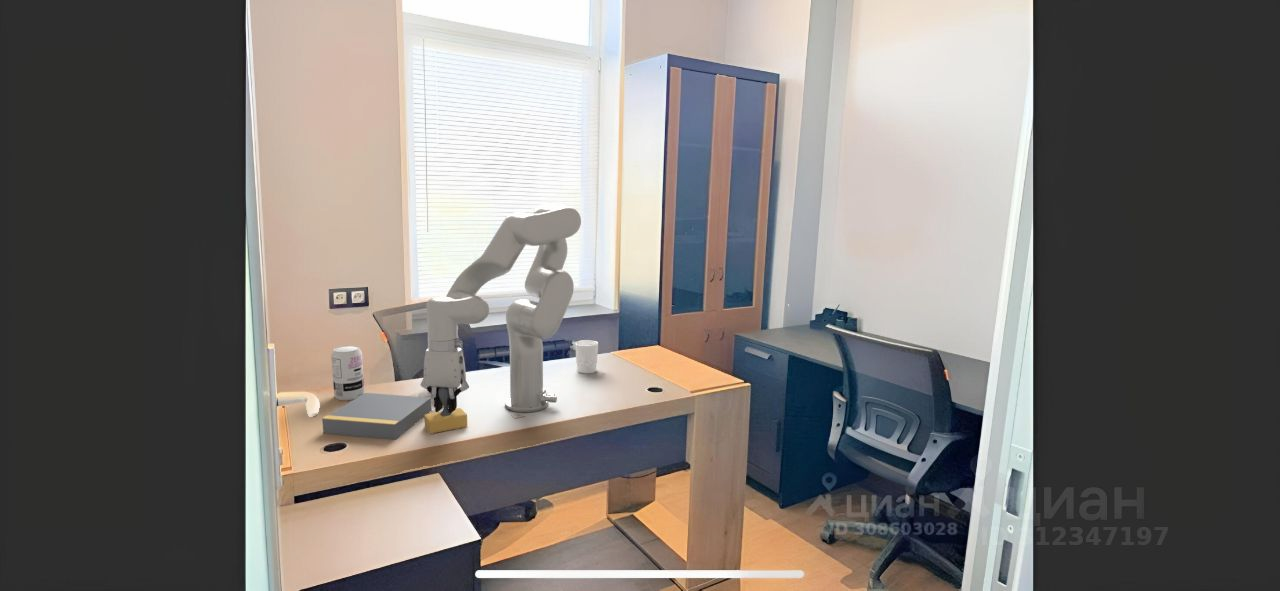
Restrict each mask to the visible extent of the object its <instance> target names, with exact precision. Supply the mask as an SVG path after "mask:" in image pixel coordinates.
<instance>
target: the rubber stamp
mask: <svg viewBox="0 0 1280 591" xmlns="http://www.w3.org/2000/svg"><path fill="white" fill-rule="evenodd" d="M438 393H439V398H440V400H441V402H442V404H443V408H442V410H440V411H439V412H430V413H428V414H425V415H424V417H423V419H424V429H427V430H428V431H427V430H426V431H427V433H428V434H429V433H430V434H429V435H433V434H432V433H434V434H438V433H437V432H439V433H443V432H442V431H444V432H448V431H447V430H449V431H453V430H452V429H454V430H458V429H457V428H459V429H464V428H467V427H468V414H467V413H466V412H465V411H464V409H462V408H461V407H457V408H456V409H455V410H454V411H453V412H452V413H449V412H448V399H449V398H450V395H449V388H445V387H440V388H439V391H438ZM463 427H464V428H463Z"/></svg>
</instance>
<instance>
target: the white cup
mask: <svg viewBox="0 0 1280 591" xmlns="http://www.w3.org/2000/svg"><path fill="white" fill-rule="evenodd" d="M598 353H599V342H598V341H596V340H590V339H584V340H578V341H576V342H575V363H576V371H577V372H578V373H581V374H594V373H595V372H597V364H598Z"/></svg>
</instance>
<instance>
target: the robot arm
mask: <svg viewBox="0 0 1280 591" xmlns="http://www.w3.org/2000/svg"><path fill="white" fill-rule="evenodd" d="M581 223H582V218H581V215H580V213H579V211H578V210H577V209H575V208H574V207H572V206H569V205H568V206H567V205H558V204H550V203H549V204H542V205H539V206H537V207H536V208H535V209H534V211H533V214H531V213H527V212H526V213H525V212H512V213H511V214H509V215H507V216H506V217H505V219H504V220H503V221H502V223H501V225H500V226H499V227H498V229H497V231H496V232H495V234H494V236H493V237H492V239H491V241H490V242H489V244H488V245H487V247H486V249H485V250H484V251H483V253H482V255H480V256H479V258H477V259H475V260H474V261H473V262H472V263H471V264H469V265H468V266H467V267H466V268H464V270H463V271H462V272H461V273H460V274H459V275H458V276H457V277H456V279H455V281H454V282H453V284H452V285H451V287H450V289H449V291H448V292H447V294H446V296H437V297H433V298H430V299H428V300H427V302H426V323H427V325H426V326H427V349H426V350H425V353H424V354H425V355H424V360H423V378H422V381H421V382H420V387H422V388H423V389H425V390H427V391H428V393H429V394H430V395H431V398H433V408H434V411H435V412H440V411H442V410H443V404H442V402H441V400H440V398H439V393H438V391H439V388H440V387H445V388H449V395H450V398H449V399H448V412H449V413H452V412H453V411H454V410H455V409H456V408H458V400H457V396H459V395H460V394H461V393H463V392H465V391H467V390H468V389H469V388H470V386H469V384H468V382H467V373H466V365H465V364H466V363H465V357H464V354H463V350H462V348H461V347H463V344H464V342H463V341H461V340H460V337H459V335H458V334H459V332H458V330H459V329H458V325H475V324H480V323H481V322H483V321H485V320H486V319H487V317H488V316H489V314H490V307H489V306H490V305H489V304H488V302H487V301H486V299H484V298H482V297H481V296H478V295H477V293H478V292H479V291H480V289H481V288H482V287H483V286H484V285H486V284H487V283H488V282H490V281H492V280H494V279H496V278H499V277H501V276H504V275H506V274H508V273H509V272H510V271H512V268H513V266H514V265H515V263H516V262H517V260H518V258H519V256H520V254H521V253H522V251H523V250H524V248H525V247H526V245H527V246H533V247H534V246H535V247H537V246H538V249H537V252H536V254H535V257H534V260H533V261H532V264H531V267H530V269H529V271H528V273H527V275H526V277H525V281H524V288H525V291H526V292H527V294H528V295H530V296H532V297H533V298H536V299H539V300H538V302H537V301H533V300H530V299H518V300H517V299H516V300H515V301H513V302H512V303H511V304H510V305H509V306H508V308H507V310H506V315H505V321H506V323H505V324H506V328H507V334H508V341H509V342H508V343H509V373H510V374H509V380H510V382H509V383H510V384H509V386H510V387H509V388H510V389H509V391H510V397H508V398H507V399H505V402H504V406H505V408H506V409H508V410H509V411H513V412H517V413H532V412H539V411H541V410H544V409H545V408H547V407H548V406H549V403H557V401H558V397H557V395H556V394H555V393H548V392H547V388H546V387H544V347H543V340H547V339H549V338H551V337H553V336H554V335H555V334H556V333H557V332H558V330H559V328H560V326H561V324H562V321H563V319H564V317H565V314H566V312H567V310H568V307H569V305H570V302H571V301H572V298H573V294H574V289H575V288H574V287H575V286H574V285H575V284H574V280H573V278H572V276H571V275H570V273H569V272H567V271H565V270H563V268H564V266H565V262H566V259H567V256H568V243H567V240H566V239H567V238H570V237H573V236H574V235H575V234H577V232H579V230H580V228H581V226H582V224H581Z"/></svg>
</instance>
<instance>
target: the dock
mask: <svg viewBox="0 0 1280 591" xmlns="http://www.w3.org/2000/svg"><path fill="white" fill-rule="evenodd" d="M430 411H431V412H432V411H433V410H432V397H426V396H425V397H424V396H412V395H398V394H389V393H388V394H387V393H386V394H385V393H372V392H364V394H363V395H361V396H359V397H358V398H356V399H354V400H350V401H349V402H347V403H346V404H345V405H343V406H342V407H339V408H337V409H336V410H334V411H333V412H331V413H330V414H328V415H325V416H323V417H322V419H321V421H322V431H323V432H322V433H323V434H325V433H327V435H328V434H329V435H338V436H348V437H361V438H362V437H363V438H375V439H386V440H397V439H398V438H400V437H401V436H402V435H404V434H405V433H406V432H408V431H409V430H410V429H411V428H412V427H413V426H415V425H416V424H417V423H418V422H420V421H421V420H422V419H424V415H425V414H429V412H430ZM431 412H430V413H431ZM420 419H421V420H420ZM419 420H420V421H419ZM415 423H416V424H415ZM414 424H415V425H414Z"/></svg>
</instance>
